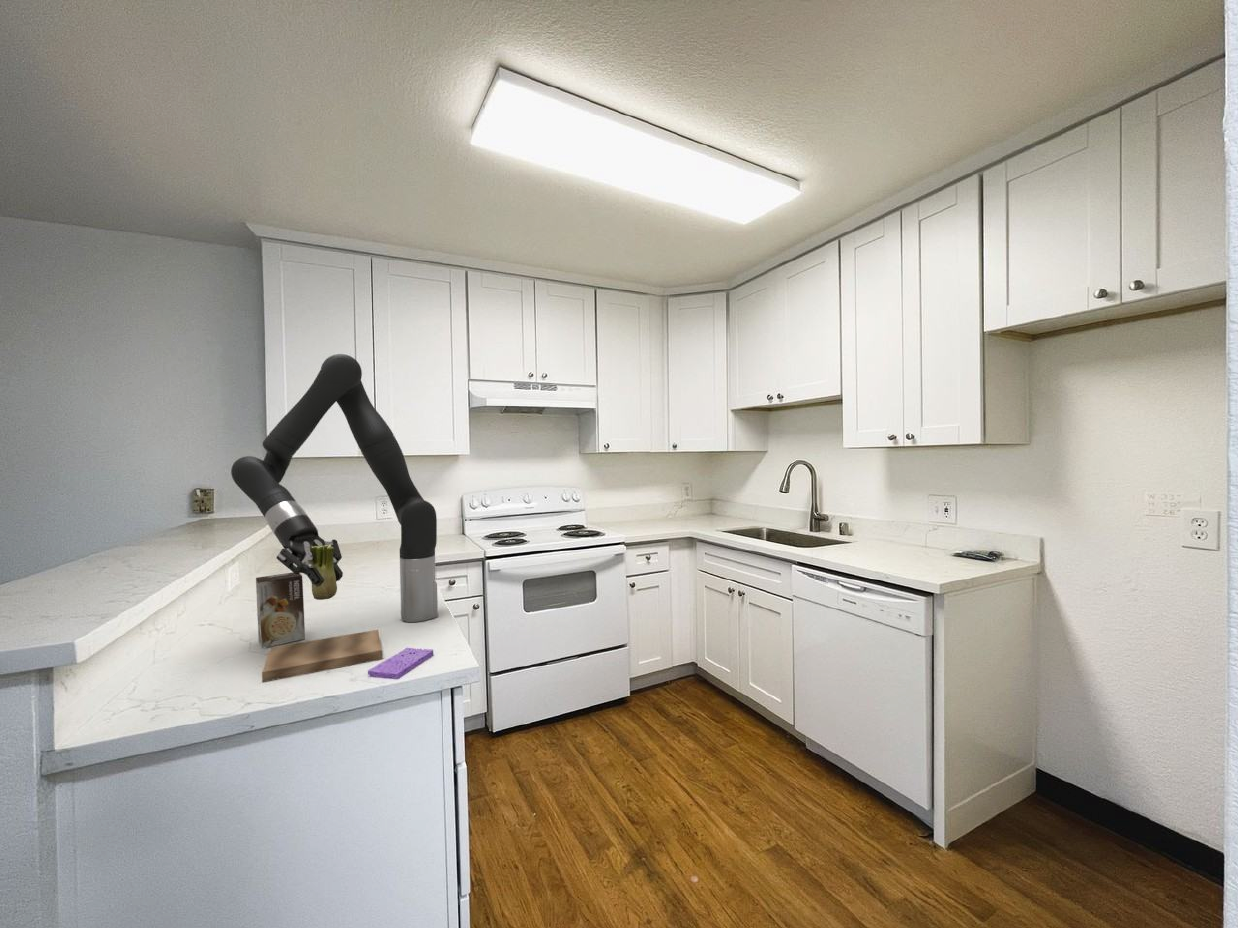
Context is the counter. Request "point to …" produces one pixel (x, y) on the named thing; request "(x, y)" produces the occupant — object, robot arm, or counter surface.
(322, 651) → the cutting board
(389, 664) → the sponges
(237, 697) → the counter surface
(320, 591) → the fennel bulb
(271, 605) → the food box
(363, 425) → the robot arm
